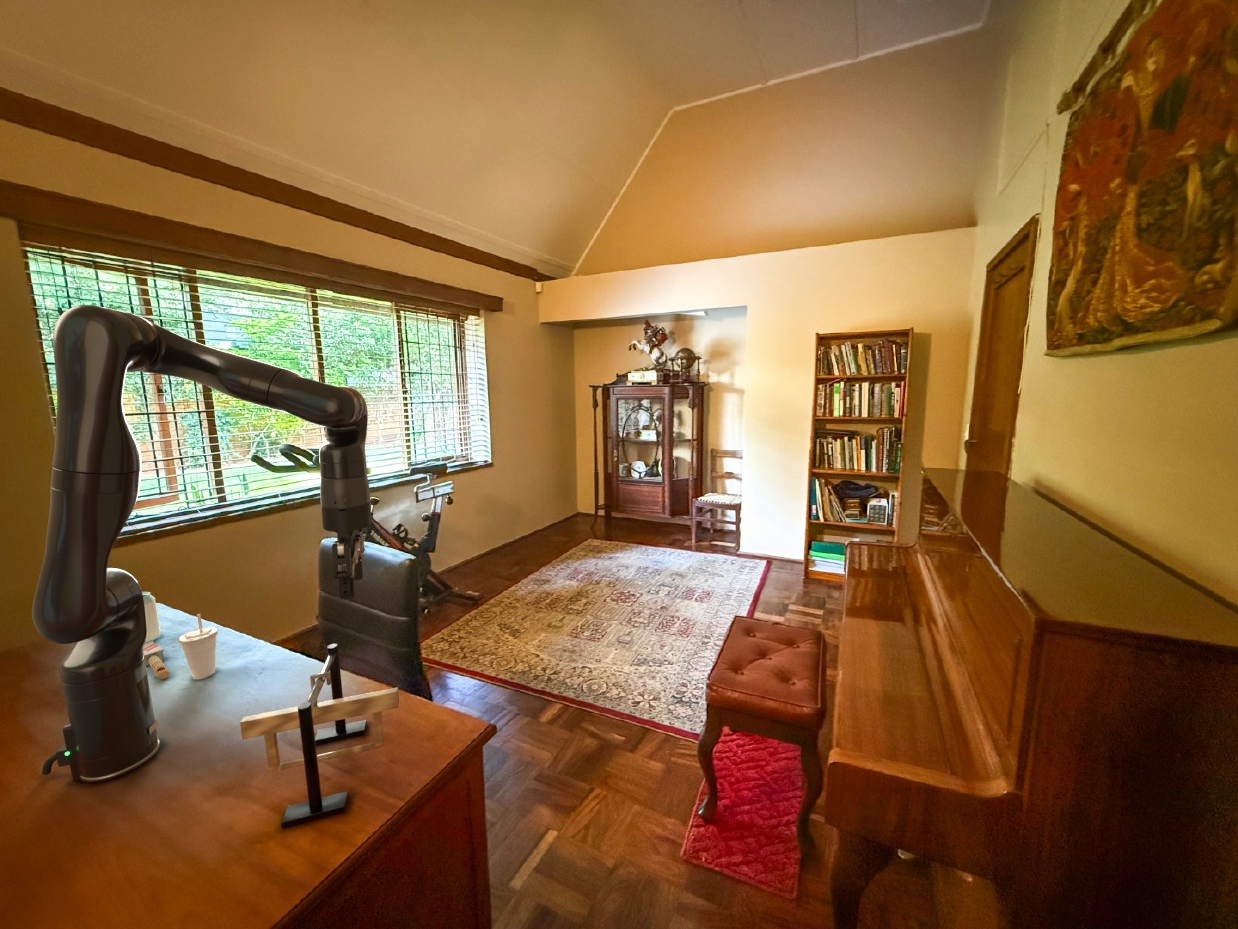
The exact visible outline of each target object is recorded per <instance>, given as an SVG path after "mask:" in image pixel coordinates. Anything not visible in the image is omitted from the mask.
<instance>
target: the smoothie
mask: <svg viewBox="0 0 1238 929" xmlns="http://www.w3.org/2000/svg"><path fill="white" fill-rule="evenodd" d="M196 618H197V624H198V628H197V629H192V630H190V631H188V632H186V633H184V634H182V635H181V636H179V638H178V644H179V645H180V646H181V647H182V650H183V653H184V655H185V659H186V661H187V665H188V667H189V670H190V674H191V676H192V679H193V680H203V679H206V678H209V677H211V676H213V675H214V674H215V672H216V655H217V654H216V653H217V652H216V649H217V648H216V647H217V636H218V634H219V633H218V628H216V627H213V626H206V627H203V622H202V616H201V613H198V614H196Z"/></svg>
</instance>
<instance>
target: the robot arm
mask: <svg viewBox="0 0 1238 929" xmlns="http://www.w3.org/2000/svg"><path fill="white" fill-rule="evenodd" d="M52 339H53V342H52V343H53V345H52V346H53V359H54V360H53V361H54V368H55V369H54V370H55V385H56V415H55V416H56V417H55V434H54V435H55V436H54V438H55V439H54V449H53V457H52V464H51V465H52V466H51V477H50V488H49V490H50V491H49V492H50V493H49V494H50V495H49V498H50V499H49V510H48V512H49V513H48V521H47V529H46V539H45V550H44V556H43V560H42V564H41V569H40V573H39V577H38V581H37V584H36V589H35V592H34V597H33V601H32V607H31V617H32V622H33V626H34V628H35V629H36V631H37V632H38V633H39V634H40V636H41V637H43V638H44V639H46V640H47V641H49V642H52V643H55V644H59V645H61V644H62V645H69V644H71V645H72V646H71V648H70V649H69V651H68V652H67V654H66V655H65V656H64V658H63V659H62V660H61V662H60V663H59V668H58V669H59V670H58V671H59V676H60V681H61V685H62V691H63V696H64V700H65V705H66V710H67V715H68V716H67V717H68V720H69V722H68V723H67V724H66V725H64V726H63V728H62V734H63V738H64V740H63V741H64V744H63V745H62V746H61V747H59V748H58V749H57V750H56V751H55V753H53V754H52V755H50V756H49V757H48V758H47V759H46V760H45V761H44V763H43V765H42V770H41V775H42V776H48V775H50V774H51V772H52V768H53V765H54V763H55V761H57V765H58V768H62V767H65V766H69V770H70V773H71V774H70V775H71V778H72V782H78V781H81V782H83V783H88V784H89V783H91V784H93V783H101V782H105V781H109V780H112V779H115V778H118V777H120V776H123V775H126V774H128V773H129V772H132V771H134V770H135V769H137V768H139V767H141V766H142V765H144V764H145V763H147V762H148V761H150V760H151V759H152V758H153V757H154V756H155V755H156V754H157V753H158V751H159V750H160V747H161V743H160V740H159V735H158V732H157V727H159V723H158V719H156V718H155V713H154V707H153V701H152V695H151V689H150V683H149V678H148V671H147V666H146V665H145V659H144V653H143V646H144V644H145V641H146V637H147V627H146V616H145V606H144V598H143V593H142V592H143V590H142V588H141V585H140V583H139V581H138V580H137V579H136V578H135V577H134V576H133V574H130V573H129V572H127V571H126V570H123V569H121V568H114V567H108V565H109V559H110V555H111V552H112V550H113V547H114V545H115V543H116V541H117V540H118V537H119V535H120V534H121V532H122V530H123V529H124V527H125V525H126V523H127V522H128V520H129V518H130V516H131V514H132V513H133V511H134V508H135V506H136V504H137V502H138V498H139V494H140V487H141V477H142V467H143V459H142V458H143V457H142V453H141V450H140V446H139V444H138V442H137V440H136V437H135V436H134V434H133V431H132V429H131V428H130V425H129V423H128V421H127V419H126V415H125V412H124V405H123V395H124V388H125V387H124V386H125V378H126V374H127V373H137V372H141V373H148V374H156V375H162V376H168V377H169V376H170V377H176V378H179V379H184V380H187V381H191V382H195V383H197V384H201V385H203V386H205V387H208V388H211V389H213V390H215V391H217V392H219V393H221V394H224V395H226V396H228V397H231V398H234V399H236V400H238V401H239V400H240V401H243V402H246V403H249V404H253V405H256V406H258V407H259V406H260V407H263V408H267V409H271V410H274V411H278V412H282V413H286V414H289V415H291V416H293V417H296V418H298V419H300V420H303V421H305V422H309V423H311V424H313V425H317V426H320V427H324V428H325V429H324V430H325V433H324V442H323V443H322V444H321V446H320V448H319V453H318V455H319V456H318V458H319V471H320V485H319V495H320V497H319V498H320V508H321V510H320V512H321V521H322V528H323V530H324V531H327V532H331V533H332V532H333V533H336V534H337V536H336V539H334V541H333V543H332V545H331V551H332V568H333V573H332V574H333V576H332V577H333V580H337V581H338V592H339V599H340V600H350V599H353V598H355V596H356V587H355V586H356V585H355V581H360V580H363V577H364V570H363V568H364V567H363V559H364V553H365V551H366V548H365V541H364V529H366V528H368V527H369V526H371V524H372V508H371V507H372V504H371V489H370V484H369V477H368V466H367V455H366V441H367V433H368V422H369V413H368V405H367V401H366V399H365V397H364V396H363V394H362V393H360V392H359V390H357V389H355V388H353V387H350V386H344V385H342V386H341V385H333V384H329V383H325V382H321V381H317V380H314V379H311V378H307V377H303V375H302V374H299V373H298V372H295V371H292V370H290V369H287V368H284V367H281V366H277V365H274V364H270V363H268V362H264V361H260V360H257V359H253V358H250V357H247V356H243V355H238V354H235V353H232V352H228V351H224V350H220V349H217V348H214V347H211V346H208V345H205V344H202V343H199V342H196V341H194V340H191V339H190V338H187V337H184V336H182V335H180V334H177V333H175V332H173V331H171V330H169V329H167V328H164V327H162V326H160V325H158V324H156V323H154V322H152V321H150V320H148V319H145V318H144V317H142V316H139V315H137V314H134V313H130V312H126V311H122V310H118V309H114V308H113V309H112V308H109V307H103V306H98V305H94V304H81V305H80V304H79V305H75V306H71V307H70V308H68V309H66V310H65V311H64V312H63V313H62V314H61V315H60V316H59V317H58V319H57V321H56V323H55V325H54V330H53V338H52ZM344 566H345V567H346V570H342V568H343V567H344Z"/></svg>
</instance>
